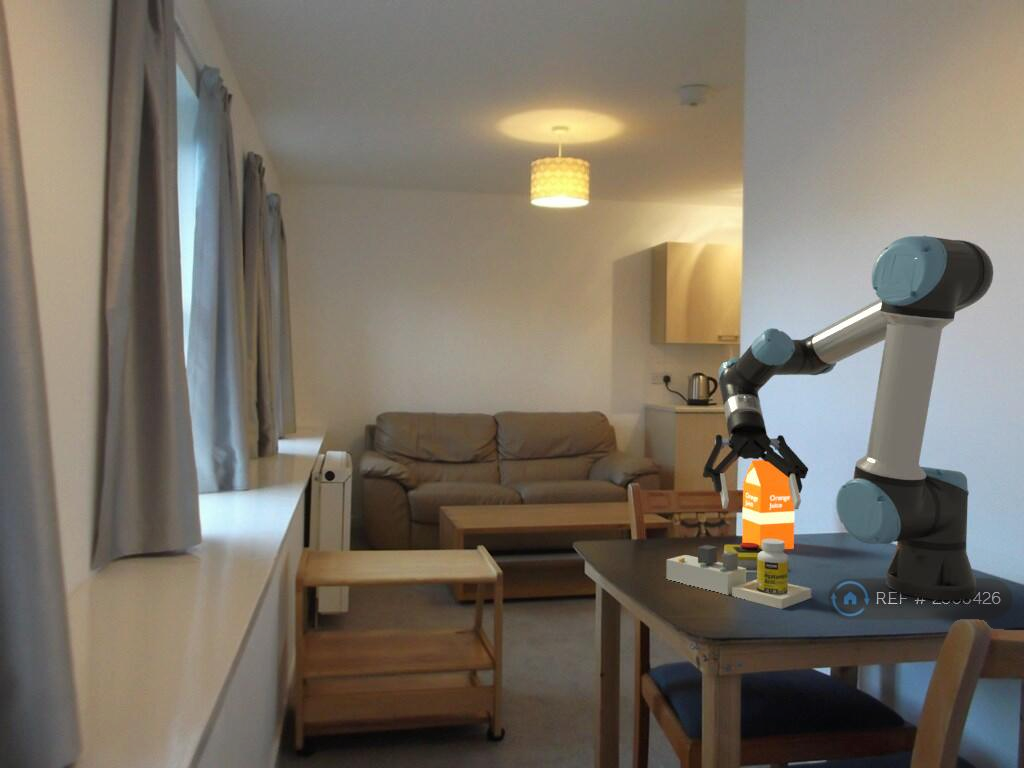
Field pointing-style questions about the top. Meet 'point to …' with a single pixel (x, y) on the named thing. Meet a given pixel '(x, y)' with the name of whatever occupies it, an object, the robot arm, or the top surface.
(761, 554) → the supplement bottle
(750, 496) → the orange juice
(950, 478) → the robot arm
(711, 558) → the switch
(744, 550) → the emergency button
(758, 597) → the shallow cream rectangular tray
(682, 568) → the long low white box
